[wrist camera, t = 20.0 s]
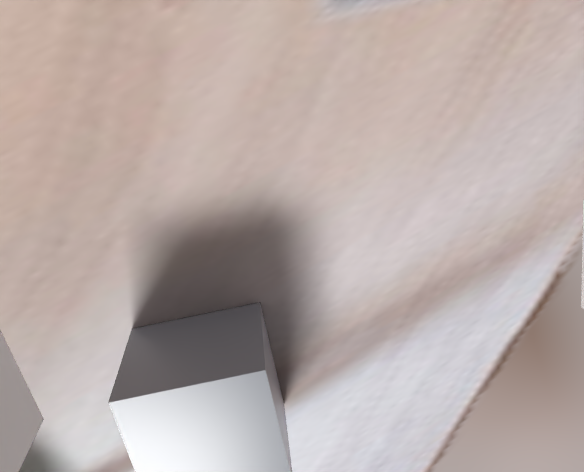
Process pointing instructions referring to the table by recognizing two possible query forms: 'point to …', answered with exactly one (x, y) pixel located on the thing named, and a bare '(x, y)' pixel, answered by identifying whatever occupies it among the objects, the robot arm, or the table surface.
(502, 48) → the table surface
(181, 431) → the slate gray cube
